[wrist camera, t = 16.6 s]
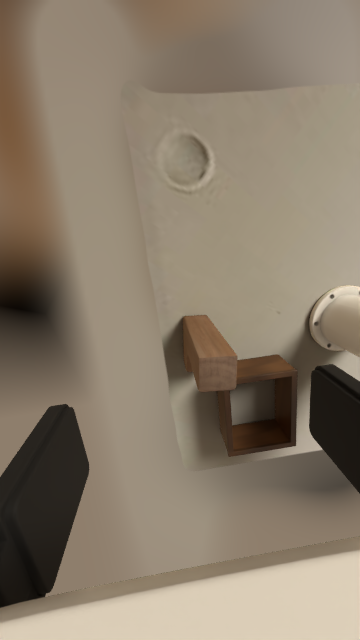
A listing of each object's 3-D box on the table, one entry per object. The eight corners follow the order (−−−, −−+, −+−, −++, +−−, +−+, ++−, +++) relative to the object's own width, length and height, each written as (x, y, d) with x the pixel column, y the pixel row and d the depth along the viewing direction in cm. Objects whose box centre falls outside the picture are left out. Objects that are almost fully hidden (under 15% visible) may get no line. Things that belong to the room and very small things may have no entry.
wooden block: (206, 359, 47) (235, 423, 30) (183, 361, 46) (198, 426, 29) (207, 314, 44) (238, 354, 27) (182, 315, 44) (198, 357, 27)
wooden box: (278, 353, 48) (297, 370, 41) (278, 421, 52) (296, 445, 46) (214, 363, 47) (223, 381, 41) (219, 430, 52) (228, 457, 45)
